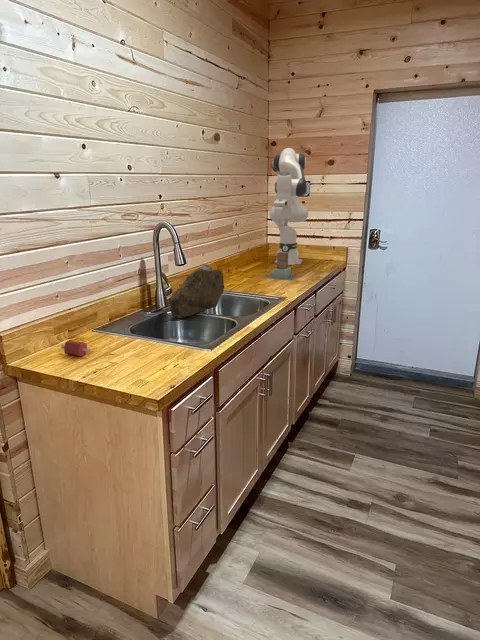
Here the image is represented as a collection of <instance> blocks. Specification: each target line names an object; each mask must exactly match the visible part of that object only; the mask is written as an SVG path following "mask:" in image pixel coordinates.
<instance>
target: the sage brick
mask: <svg viewBox="0 0 480 640" xmlns="http://www.w3.org/2000/svg"><path fill="white" fill-rule="evenodd" d="M273 273H274V278H286V279H287V278H288V277H290V276H291V275H292V267H288V268H287V269H277V267H275V268H273Z"/></svg>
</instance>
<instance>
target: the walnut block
mask: <svg viewBox="0 0 480 640" xmlns="http://www.w3.org/2000/svg"><path fill="white" fill-rule="evenodd" d="M276 260H277V263H276V268H277V269H287V268H289V265H288V253H285V252H279V253H277V252H276Z"/></svg>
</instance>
